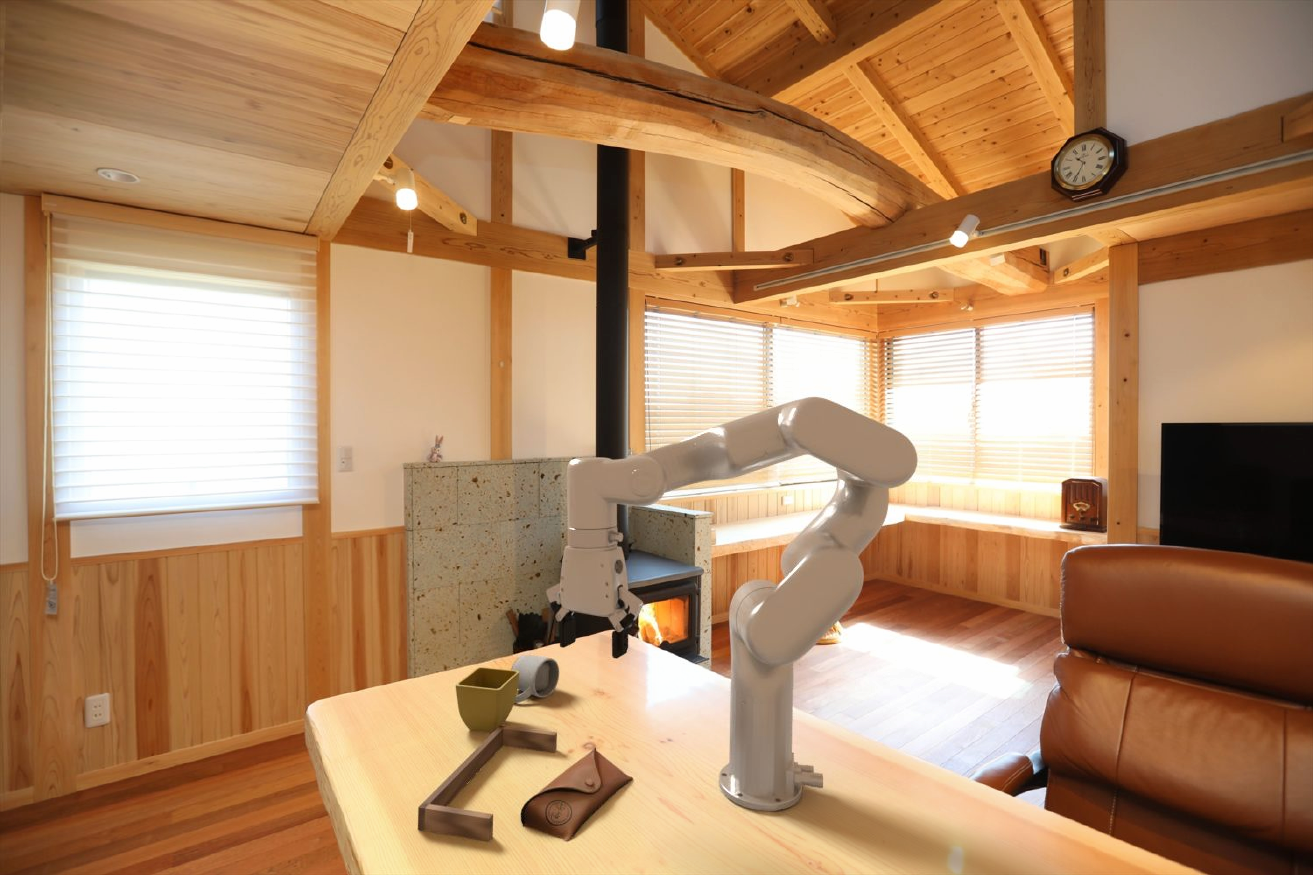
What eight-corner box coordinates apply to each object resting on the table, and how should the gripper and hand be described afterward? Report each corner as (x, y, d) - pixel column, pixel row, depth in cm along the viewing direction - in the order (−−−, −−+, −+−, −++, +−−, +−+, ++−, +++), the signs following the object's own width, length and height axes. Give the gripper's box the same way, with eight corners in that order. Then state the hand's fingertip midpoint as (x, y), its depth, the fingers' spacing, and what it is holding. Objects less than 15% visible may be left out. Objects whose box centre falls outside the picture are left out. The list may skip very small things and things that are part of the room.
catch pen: (556, 749, 102) (556, 732, 102) (489, 841, 78) (489, 818, 78) (499, 742, 104) (500, 725, 104) (417, 829, 80) (418, 807, 80)
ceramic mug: (532, 681, 130) (532, 646, 130) (560, 690, 126) (560, 654, 126) (495, 699, 122) (495, 661, 121) (523, 709, 117) (523, 670, 117)
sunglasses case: (570, 843, 78) (549, 792, 80) (532, 856, 81) (514, 806, 82) (636, 776, 94) (618, 734, 96) (603, 788, 97) (586, 748, 98)
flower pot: (498, 740, 105) (499, 689, 105) (453, 734, 106) (454, 684, 106) (519, 717, 113) (520, 670, 113) (477, 712, 115) (478, 666, 115)
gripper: (653, 538, 90) (654, 651, 90) (562, 530, 98) (563, 634, 98) (627, 546, 83) (628, 668, 83) (532, 537, 92) (533, 648, 92)
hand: (593, 650), depth 91 cm, fingers open, 9 cm apart
